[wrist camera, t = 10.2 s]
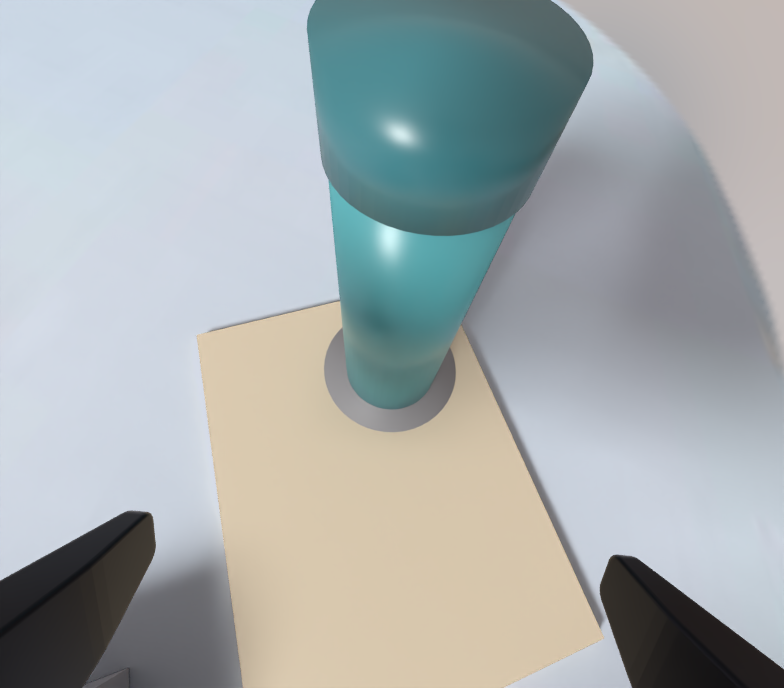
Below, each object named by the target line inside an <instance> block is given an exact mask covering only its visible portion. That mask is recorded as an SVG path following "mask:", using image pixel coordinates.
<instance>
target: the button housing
mask: <svg viewBox="0 0 784 688" xmlns="http://www.w3.org/2000/svg"><path fill="white" fill-rule="evenodd" d="M83 688H129V668H126V669H124V670H121V671H119V672H116V673H113V674H111V675H108V676H106V677H103V678H101V679H98V680H96V681H93V682H90V683H88V684H85V685H84V686H83Z"/></svg>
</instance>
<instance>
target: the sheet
mask: <svg viewBox="0 0 784 688" xmlns="http://www.w3.org/2000/svg"><path fill="white" fill-rule="evenodd" d="M197 342H198V349H199V357H200V364H201V372H202V380H203V387H204V395H205V402H206V410H207V418H208V425H209V433H210V441H211V448H212V456H213V463H214V471H215V479H216V486H217V494H218V502H219V509H220V517H221V524H222V532H223V540H224V547H225V555H226V562H227V570H228V578H229V585H230V593H231V601H232V608H233V616H234V623H235V631H236V639H237V646H238V654H239V662H240V669H241V677H242V684H243V688H504V687H506V686H508V685H510V684H512V683H514V682H516V681H518V680H520V679H522V678H524V677H526V676H528V675H530V674H532V673H534V672H536V671H539V670H541V669H543V668H545V667H547V666H549V665H551V664H553V663H555V662H557V661H559V660H561V659H563V658H565V657H567V656H569V655H571V654H573V653H575V652H577V651H579V650H582V649H584V648H586V647H588V646H590V645H592V644H594V643H596V642H598V641H600V640H602V639H604V636H603V634H602V632H601V630H600V628H599V625H598V623H597V621H596V619H595V617H594V614H593V612H592V610H591V608H590V606H589V604H588V601H587V599H586V597H585V595H584V593H583V590H582V588H581V586H580V584H579V582H578V579H577V577H576V575H575V573H574V571H573V568H572V566H571V564H570V562H569V560H568V557H567V555H566V553H565V551H564V549H563V547H562V544H561V542H560V540H559V538H558V536H557V533H556V531H555V529H554V527H553V525H552V522H551V520H550V518H549V516H548V514H547V511H546V509H545V507H544V505H543V503H542V500H541V498H540V496H539V494H538V492H537V490H536V487H535V485H534V483H533V481H532V479H531V476H530V474H529V472H528V470H527V468H526V465H525V463H524V461H523V459H522V457H521V454H520V452H519V450H518V448H517V446H516V444H515V441H514V439H513V437H512V435H511V433H510V430H509V428H508V426H507V424H506V422H505V419H504V417H503V415H502V413H501V411H500V408H499V406H498V404H497V402H496V400H495V397H494V395H493V393H492V391H491V389H490V387H489V384H488V382H487V380H486V378H485V376H484V373H483V371H482V369H481V367H480V365H479V362H478V360H477V358H476V356H475V354H474V351H473V349H472V347H471V345H470V343H469V341H468V338H467V336H466V334H465V332H464V330H463V327H462V325H460V327H459V329H458V331H457V333H456V335H455V337H454V339H453V341H452V344H451V346H450V348H449V350H448V352H447V354H446V356H445V358H444V360H443V362H442V364H441V366H440V368H439V370H438V372H437V374H436V376H435V378H434V380H433V382H432V384H431V386H430V388H429V390H428V391H427V393H426V394H425V395H424V396H423V397H422V398H421V399H420V400H419V401H417V402H416V403H414V404H412V405H410V406H408V407H405V408H401V409H382V408H378V407H375V406H373V405H371V404H369V403H367V402H366V401H364V400H363V399H362V398H360V397H359V396H358V395H357V394H356V392H355V391H354V390H353V388H352V386H351V384H350V382H349V379H348V376H347V369H346V358H345V348H344V337H343V327H342V316H341V306H340V301H338V302H333V303H329V304H325V305H321V306H317V307H312V308H308V309H304V310H300V311H296V312H291V313H287V314H283V315H279V316H275V317H270V318H266V319H262V320H258V321H254V322H249V323H245V324H241V325H237V326H232V327H228V328H224V329H220V330H216V331H211V332H207V333H203V334H199V335H197Z"/></svg>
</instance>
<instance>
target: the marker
mask: <svg viewBox="0 0 784 688" xmlns="http://www.w3.org/2000/svg"><path fill="white" fill-rule="evenodd" d="M307 33H308V43H309V52H310V61H311V70H312V79H313V88H314V97H315V107H316V116H317V125H318V134H319V143H320V152H321V159H322V165H323V168H324V170H325V173H326V176H327V177H328V179H329V190H330V200H331V211H332V221H333V232H334V242H335V253H336V263H337V274H338V284H339V295H340V306H341V316H342V327H343V337H344V348H345V358H346V369H347V376H348V379H349V382H350V384H351V386H352V388H353V390H354V391H355V392H356V394H357V395H358V396H359V397H360V398H362V399H363V400H364V401H366V402H367V403H369V404H371V405H373V406H375V407H378V408H382V409H401V408H405V407H408V406H410V405H412V404H414V403H416V402H417V401H419V400H420V399H421V398H422V397H423V396H424V395H425V394H426V393H427V391H428V390H429V388H430V386H431V384H432V382H433V380H434V378H435V376H436V374H437V372H438V370H439V368H440V366H441V364H442V362H443V360H444V358H445V356H446V354H447V352H448V350H449V348H450V346H451V344H452V341H453V339H454V337H455V335H456V333H457V331H458V329H459V327H460V325H461V323H462V321H463V319H464V317H465V315H466V313H467V311H468V309H469V307H470V305H471V303H472V301H473V299H474V297H475V295H476V293H477V291H478V289H479V287H480V284H481V282H482V280H483V278H484V276H485V274H486V272H487V270H488V268H489V266H490V264H491V262H492V260H493V258H494V256H495V254H496V252H497V250H498V248H499V246H500V244H501V242H502V240H503V238H504V236H505V234H506V232H507V229H508V227H509V225H510V223H511V221H512V219H513V217H514V215H515V213H516V212H517V211H518V210H519V209H520V208H521V207H522V206H523V205H524V204H525V203H526V201H527V200H528V198H529V197H530V195H531V193H532V191H533V189H534V187H535V185H536V183H537V181H538V179H539V177H540V175H541V173H542V171H543V170H544V168H545V166H546V164H547V162H548V160H549V158H550V156H551V154H552V152H553V150H554V148H555V146H556V144H557V142H558V140H559V138H560V136H561V134H562V132H563V130H564V128H565V126H566V124H567V122H568V120H569V118H570V117H571V115H572V113H573V111H574V109H575V107H576V105H577V103H578V101H579V99H580V97H581V95H582V93H583V91H584V89H585V87H586V85H587V83H588V81H589V79H590V76H591V74H592V69H593V53H592V49H591V46H590V43H589V41H588V39H587V37H586V35H585V33H584V32H583V30H582V29H581V28H580V26H579V25H578V24H577V23H576V22H575V20H574V19H573V18H572V17H571V16H570V15H569V14H568V13H566V12H565V11H564V10H563V9H562V8H560V7H559V6H558V5H557V4H555V3H554V2H552V1H551V0H316V1H315V3H314V4H313V6H312V8H311V10H310V13H309V16H308V21H307Z"/></svg>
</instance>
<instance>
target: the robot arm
mask: <svg viewBox="0 0 784 688" xmlns="http://www.w3.org/2000/svg"><path fill="white" fill-rule="evenodd" d="M155 548H156V542H155V533H154V523H153V516H152V515H151V513H149V512H142V511H127V512H124V513H122V514H120V515H118V516H117V517H115V518H113V519H111V520H109V521H108V522H106V523H104V524H102V525H100V526H99V527H97V528H95V529H93V530H91V531H89V532H88V533H86V534H84V535H82V536H80V537H79V538H77V539H75V540H73V541H71V542H70V543H68V544H66V545H64V546H62V547H60V548H59V549H57V550H55V551H53V552H51V553H50V554H48V555H46V556H44V557H42V558H40V559H39V560H37V561H35V562H33V563H31V564H30V565H28V566H26V567H24V568H22V569H21V570H19V571H17V572H15V573H13V574H11V575H10V576H8V577H6V578H4V579H2V580H1V581H0V688H83V686H84V684H85V683H86V681H87V680H88V678H89V676H90V675H91V673H92V671H93V670H94V668H95V667H96V665H97V663H98V662H99V660H100V658H101V657H102V655H103V653H104V652H105V650H106V648H107V646H108V644H109V643H110V641H111V639H112V637H113V635H114V633H115V631H116V629H117V627H118V625H119V623H120V622H121V620H122V618H123V616H124V614H125V612H126V610H127V608H128V606H129V604H130V602H131V600H132V598H133V596H134V594H135V592H136V590H137V588H138V586H139V584H140V582H141V581H142V579H143V577H144V575H145V573H146V571H147V569H148V567H149V565H150V563H151V561H152V559H153V556H154V553H155ZM600 596H601V600H602V603H603V606H604V609H605V612H606V615H607V618H608V620H609V623H610V626H611V629H612V632H613V635H614V638H615V641H616V643H617V646H618V649H619V652H620V655H621V658H622V661H623V664H624V667H625V669H626V672H627V675H628V678H629V681H630V683H631V686H632V688H784V669H783V668H781V667H780V666H779V665H777V664H776V663H775V662H774V661H772V660H771V659H770V658H768V657H767V656H766V655H764V654H763V653H762V652H760V651H759V650H758V649H756V648H755V647H754V646H752V645H751V644H750V643H748V642H747V641H746V640H744V639H743V638H742V637H740V636H739V635H738V634H737V633H735V632H734V631H733V630H731V629H730V628H729V627H727V626H726V625H725V624H723V623H722V622H721V621H719V620H718V619H717V618H715V617H714V616H713V615H711V614H710V613H709V612H707V611H706V610H705V609H704V608H702V607H701V606H700V605H698V604H697V603H696V602H694V601H693V600H692V599H690V598H689V597H688V596H686V595H685V594H684V593H682V592H681V591H680V590H678V589H677V588H676V587H674V586H673V585H672V584H670V583H669V582H668V581H667V580H665V579H664V578H663V577H661V576H660V575H659V574H657V573H656V572H655V571H653V570H652V569H651V568H649V567H648V566H647V565H645V564H644V563H643V562H641V561H640V560H639V559H637V558H635V557H633V556H625V555H613V556H612V557H611V558H610V559H609V562H608V564H607V567H606V570H605V573H604V575H603V578H602V581H601V584H600Z"/></svg>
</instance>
